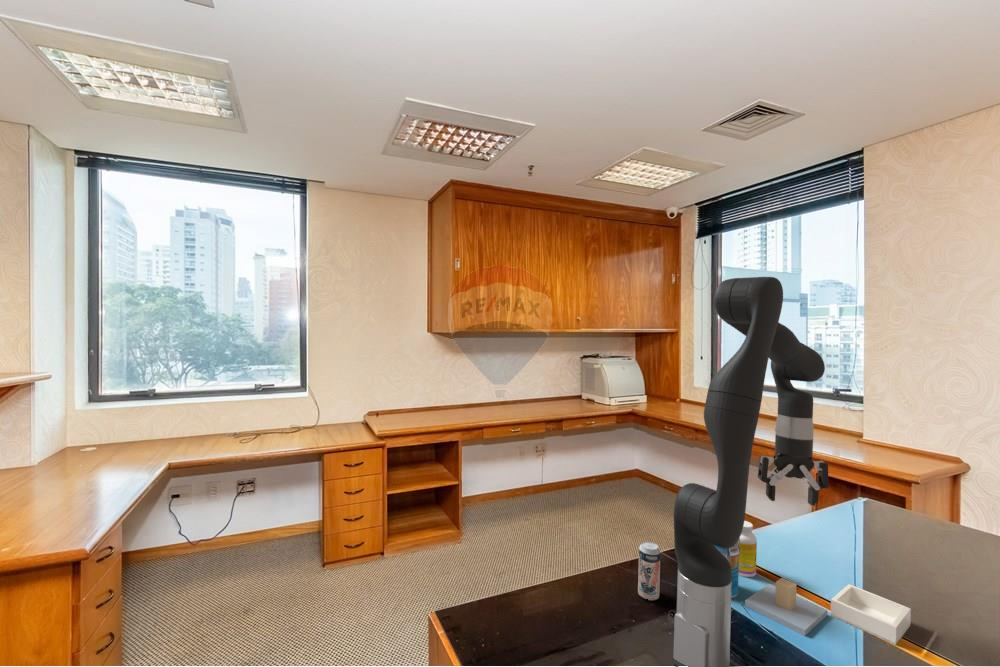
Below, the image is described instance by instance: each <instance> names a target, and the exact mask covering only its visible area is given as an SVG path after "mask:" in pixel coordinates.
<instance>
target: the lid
mask: <svg viewBox="0 0 1000 667" xmlns="http://www.w3.org/2000/svg"><path fill="white" fill-rule="evenodd" d="M744 606H745V607H746V606H747V607H746V608H748V607H749V608H748V609H750V608H751V609H750V610H752V609H753V610H752V611H754V610H755V612H756V611H757V613H758V612H759V613H758V614H760V613H761V615H762V614H763V615H762V616H764V615H765V617H766V616H767V617H766V618H768V617H769V618H768V619H769V620H770V619H771V620H772V621H774V622H776V623H778V624H780V625H782V626H783V627H787V629H790V630H792V631H794V632H796V633H798V634H799V635H801V636H803V635H804V637H806V636H807V635H808V634H810V632H811V631H812V630H813V629H814V628H815V627H817V625H819V624H820V623H821V622H822V621H823V620H824V619H825V618H826V617H827V616H828V609H826V608H824V607H823V606H822V607H821V606H820V605H817V604H815V603H813V602H810V601H808V600H806V599H803V598H801V597H799V596H797V583H795V582H792V581H790V580H787V579H785V578H783V577H781V578H779V579H778V580H776V581H775V585H772V584H771V583H768V584H767V585H765V586H764V587H762V588H761V589H760V590H758V591H757V592H755V593H753V594H752V595H751V596H749V597H748V598H746V599H745V600H744ZM822 619H823V620H822ZM821 620H822V621H821ZM820 621H821V622H820ZM819 622H820V623H819ZM806 634H807V635H806ZM805 635H806V636H805Z"/></svg>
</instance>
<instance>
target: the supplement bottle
mask: <svg viewBox="0 0 1000 667" xmlns="http://www.w3.org/2000/svg"><path fill="white" fill-rule="evenodd" d="M753 528H754V525H753V523H751V522H749V521H747V520H744V525H743V529H742V533H741V536H740V542H739V543H738V545H739V547H740V555H739V575H738V577H739V576H740V577H743V578H752V577H755V576H756V574H757V551H758V550H757V549H758V548H757V544H758V542H757V541H758V540H757V537H756V535H755V533H753V530H754V529H753Z"/></svg>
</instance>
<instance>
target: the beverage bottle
mask: <svg viewBox="0 0 1000 667" xmlns="http://www.w3.org/2000/svg"><path fill="white" fill-rule="evenodd" d="M739 542H740V538H739V540H738V541H737V543H736V544H735V545H734V546H733V547H731V548H728V549H725V548H721V547H718V546H716V545H714V546H715V547H716V548H717V549H718V550H719V551H720V552H721V553H722V554H723V555H724V556H725V557H726V558H727V560H728V561H729V562H730V564H731V568H732V588H731V599H733V598H735V597H737V596H738V595H739V555H740V547H739V545H738V543H739Z"/></svg>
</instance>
